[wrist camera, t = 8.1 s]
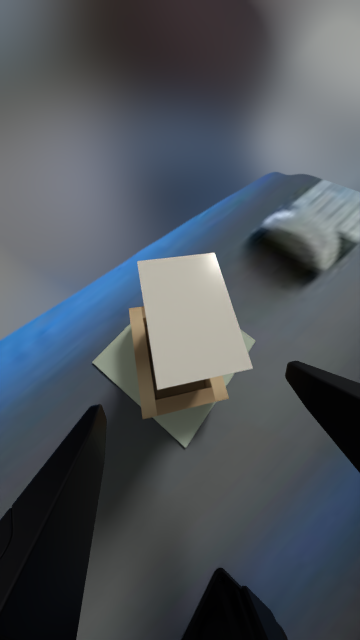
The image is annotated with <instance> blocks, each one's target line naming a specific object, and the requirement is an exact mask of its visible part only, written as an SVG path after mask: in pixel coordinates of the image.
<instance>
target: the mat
mask: <svg viewBox="0 0 360 640" xmlns="http://www.w3.org/2000/svg"><path fill="white" fill-rule="evenodd" d="M240 331H241V334H242V337H243V340H244V343H245V346H246V349H247V352H249V350H250V349H251V347H252V346H253V344H254V343H255V340H254V339H253V338H251V337H250V336H249V335H247V334H246V333H244V332H243V331H242V330H240ZM92 363H94V364H95V365H96V366H97V367H98V368H99V369H100V370H101V371H102V372H103V373H104V374H106V375H107V376H108V377H109V378H110V379H111V380H112V381H113V382H114V383H115V384H116V385H118V386H119V387H120V388H121V389H122V390H123V391H124V392H125V393H126V394H127V395H128V396H130V397H131V398H132V399H133V400H134V401H135V402H136V403H137V404H138V405H139V406H140V407H141V401H140V393H139V385H138V377H137V369H136V361H135V353H134V345H133V337H132V329H131V324H130V325H129V326H128V327H127V328H126V329H125V330H124V331H123V332H122V333H121V334H120V335H119V336H118V337H117V338H116V339H115V340H114V341H113V342H112V343H111V344H110V345H109V346H108V347H107V348H106V349H105V350H104V351H103V352H102V353H101V354H100V355H99V356H98V357H97V358H96V359H95V360H94V361H93V362H92ZM233 375H234V373H231V374H227V375H222V376H223V379H224V383H225V387H226V386H227V384H228V383H229V381H230V379H231V378H232V376H233ZM214 404H215V402H212V403H208V404H204V405H200V406H196V407H192V408H188V409H183V410H179V411H175V412H171V413H167V414H163V415H159V416H155V417H152V418H154V419H155V420H156V421H157V422H158V423H159V424H160V425H161V426H162V427H163V428H164V429H166V430H167V431H168V432H169V433H170V434H171V435H172V436H173V437H174V438H175V439H176V440H178V441H179V442H180V443H181V444H182V445H183V446H184V447H185V448H186V447H187V445H188V444H189V442H190V441H191V439H192V438H193V436H194V435H195V433H196V432H197V430H198V429H199V427H200V425H201V424H202V422H203V421H204V419H205V418H206V416H207V415H208V413H209V412H210V410H211V409H212V407H213V406H214Z"/></svg>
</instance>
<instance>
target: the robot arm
mask: <svg viewBox="0 0 360 640" xmlns="http://www.w3.org/2000/svg"><path fill="white" fill-rule="evenodd" d="M285 377H286V379H287V381H288V382H289V384H290V385H291V387H292V388H293V390H294V391H295V393H296V394H297V395H298V397H299V398H300V400H301V401H302V403H303V404H304V405H305V407H306V408H307V409H308V411H309V412H310V413H311V414H312V416H313V417H314V418H315V419H316V420H317V422H318V423H319V424H320V425H321V426H322V428H323V429H324V430H325V431H326V433H327V434H328V435H329V436H330V437H331V439H332V440H333V441H334V442H335V443H336V445H337V446H338V447H339V448H340V449H341V451H342V452H343V453H344V454H345V456H346V457H347V458H348V459H349V460H350V462H351V463H352V464H353V465H354V466H355V468H356V469H357V470H358V471H359V472H360V383H357V382H355V381H352V380H349V379H346V378H343V377H341V376H338V375H335V374H332V373H330V372H327V371H324V370H321V369H319V368H316V367H313V366H310V365H307V364H305V363H302V362H299V361H292V362H289V363H288V364H287V369H286V373H285ZM106 424H107V421H106V416H105V413H104V410H103V407H102V405H101V404H98V405H93V406H91V407H89V409H88V410H87V411H86V412H85V414H84V415H83V416H82V417H81V419H80V420H79V421H78V422H77V424H76V425H75V426H74V427H73V429H72V430H71V431H70V433H69V434H68V435H67V436H66V438H65V439H64V440H63V441H62V443H61V444H60V445H59V446H58V448H57V449H56V450H55V452H54V453H53V454H52V455H51V457H50V458H49V459H48V460H47V462H46V463H45V464H44V465H43V467H42V468H41V469H40V470H39V472H38V473H37V474H36V476H35V477H34V478H33V479H32V481H31V482H30V483H29V484H28V486H27V487H26V488H25V489H24V491H23V492H22V493H21V495H20V496H19V497H18V498H17V500H16V501H15V502H14V503H13V505H12V508H10V509H9V510H8V511H7V512H6V513H5V515H4V516H3V517H2V518H1V520H0V640H76V637H77V631H78V625H79V618H80V612H81V606H82V600H83V593H84V587H85V581H86V574H87V568H88V562H89V556H90V549H91V543H92V537H93V530H94V524H95V518H96V512H97V505H98V499H99V493H100V486H101V480H102V474H103V467H104V458H105V442H106ZM220 577H224V578H223V580H222V581H220V580H219V578H220ZM183 640H288V639H287V636H286V634H285V632H284V630H283V629H282V627H281V626H280V625H279V624H278V623H277V622H276V620H275V618H274V616H273V614H272V612H271V610H270V609H269V608H268V607H267V606H266V605H265V604H264V603H263V602H262V601H261V600H260V599H259V598H258V597H257V596H256V595H255V594H254V593H253V592H252V591H251V590H250V589H249V588H248V587H247V586H242V587H241V586H240V585H239V584H238V583H237V582H236V581H235V580H234V579H233V578H232V577H231V576H230V575H229V574H228V573H227V572H226V571H225V570H224V569H223V568H218V569H217V570H216V572H215V574H214V576H213V578H212V580H211V582H210V584H209V586H208V588H207V590H206V592H205V594H204V596H203V599H202V601H201V603H200V605H199V607H198V609H197V611H196V613H195V615H194V617H193V619H192V621H191V623H190V625H189V628H188V630H187V632H186V634H185V636H184V638H183Z"/></svg>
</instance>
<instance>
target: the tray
mask: <svg viewBox="0 0 360 640" xmlns="http://www.w3.org/2000/svg"><path fill="white" fill-rule="evenodd" d="M129 313H130V321H131V329H132V337H133V345H134V353H135V361H136V369H137V377H138V385H139V393H140V401H141V409H142V417H143V419H146V418H150V417H155V416H159V415H163V414H167V413H171V412H175V411H179V410H183V409H188V408H192V407H196V406H200V405H204V404H208V403H212V402H216V401H220V400H225V399H229V398H228V394H227V390H226V387H225V383H224V379H223V376H218V377H213V378H209V379H204V380H200V381H196V382H191V383H187V384H182V385H178V386H173V387H169V388H164V389H159V390H157V384H156V378H155V371H154V365H153V358H152V352H151V346H150V339H149V333H148V327H147V320H146V314H145V308H144V306H143V307H137V308H130V309H129Z"/></svg>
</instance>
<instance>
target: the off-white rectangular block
mask: <svg viewBox="0 0 360 640" xmlns="http://www.w3.org/2000/svg"><path fill="white" fill-rule="evenodd" d="M137 263H138V269H139V276H140V282H141V288H142V295H143V301H144V308H145V314H146V320H147V327H148V333H149V339H150V346H151V352H152V358H153V365H154V371H155V378H156V384H157V390H159V389H164V388H169V387H173V386H178V385H182V384H187V383H191V382H196V381H200V380H204V379H209V378H213V377H218V376H222V375H227V374H231V373H235V372H240V371H244V370H249V369H253V367H252V364H251V361H250V358H249V355H248V352H247V349H246V346H245V343H244V340H243V337H242V334H241V331H240V328H239V325H238V322H237V319H236V316H235V313H234V310H233V307H232V304H231V301H230V298H229V295H228V292H227V289H226V286H225V283H224V280H223V277H222V274H221V271H220V268H219V265H218V262H217V259H216V256H215V253H208V254H199V255H190V256H181V257H172V258H163V259H154V260H145V261H137Z"/></svg>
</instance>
